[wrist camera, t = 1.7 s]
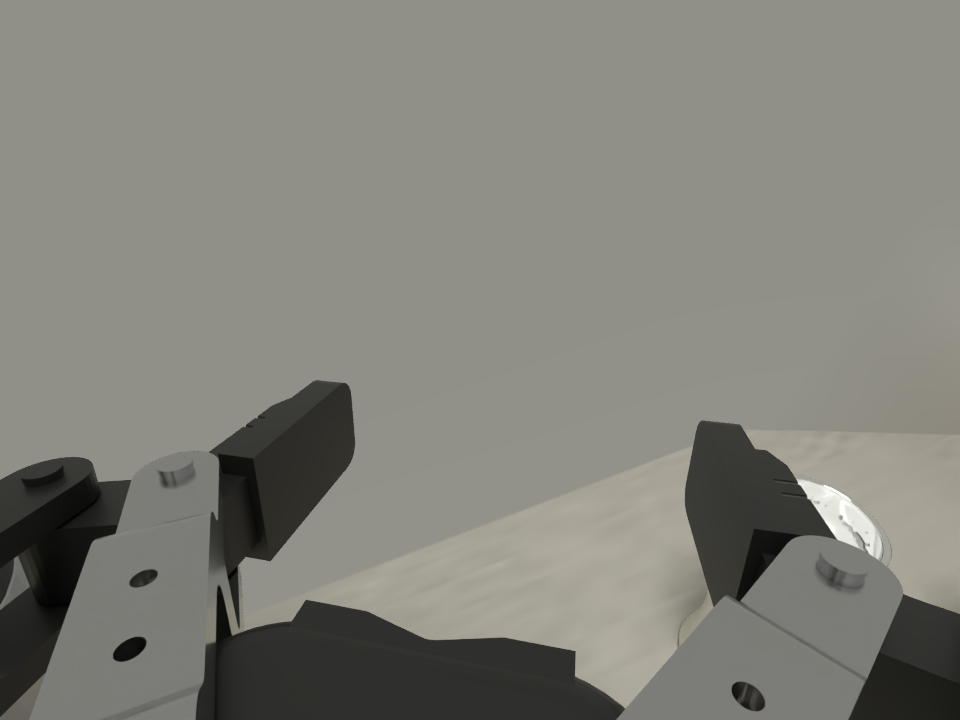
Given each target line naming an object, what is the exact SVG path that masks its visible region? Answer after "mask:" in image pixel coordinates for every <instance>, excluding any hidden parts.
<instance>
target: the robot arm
mask: <svg viewBox="0 0 960 720" xmlns="http://www.w3.org/2000/svg"><path fill="white" fill-rule="evenodd" d="M354 448H355V436H354V423H353V411H352V400H351V391H350V388H349V386H348V385H347V384H346V383H338V382H328V381H319V380H316V381H314V382H312V383H311V384H309V385H308V386H307V387H305V388H304V389H303V390H301V391H300V392H299V393H297V394H296V395H295V396H293V397H292V398H290V399H287V400H285V401H282V402H280V403H277V404H275V405H273V406H271V407H270V408H268V409H267V410H266V411H264V412H263V413H262V414H260V415H259V416H258V419H257V418H255V419H253V420H252V421H251V422H249V423H248V424H247V425H246V427H243V428H241V429H240V430H239V431H237V432H236V433H235V434H233V435H232V436H231V437H229V438H227V439H226V440H225V441H223V442H222V443H221V444H219V445H218V446H217V447H215V448H214V449H212V450H211V451H210V452H203V451H188V452H180V453H176V454H171V455H168V456H165V457H162V458H159V459H157V460H155V461H152V462H151V463H149V464H147V465H145V466H144V467H142V468H141V469H140V470H139V471H137V472H136V473H135V475H134V476H133V478H132V480H123V481H108V482H98V480H97V477H96V473H95V470H94V467H93V464H92V462H91V461H89V460H88V459H85V458H79V457H66V458H58V459H52V460H48V461H44V462H40V463H37V464H34V465H31V466H28V467H25V468H23V469H21V470H18V471H16V472H14V473H12V474H10V475H9V476H7V477H5V478H3V479H1V480H0V720H960V614H958V613H955V612H952V611H949V610H946V609H943V608H940V607H937V606H934V605H931V604H928V603H925V602H922V601H920V600H917V599H914V598H912V597H909V596H907V595H904V594H903V590H902V586H901V584H900V582H899V580H898V579H897V577H896V576H895V575H894V574H893V573H892V571H891V570H890V569H889V568H888V567H886V566H885V565H884V564H883V563H882V562H880V561H879V560H878V559H876V558H875V557H873V556H872V555H870V554H868V553H867V552H865V551H863V550H861V549H859V548H857V547H855V546H852V545H850V544H848V543H845V542H842V541H839V540H837V538H836V537H835V536H834V534H833V533H832V531H831V530H830V528H829V527H828V525H827V524H826V522H825V521H824V519H823V518H822V516H821V515H820V513H819V512H818V511H817V509H816V508H815V506H814V505H813V503H812V502H811V500H810V499H807V494H806V493H805V491H804V490H803V488H802V487H801V485H798V481H797V480H796V478H795V477H794V475H793V474H792V472H791V471H790V469H789V468H788V466H787V465H786V464H784V463H783V462H781V461H780V460H779V459H777V458H776V457H775V456H773V455H772V454H771V453H769V452H768V451H767V450H758V449H755V448H754V447H753V445H752V443H751V442H750V440H749V438H748V437H747V435H746V433H745V432H744V430H743V428H742V427H741V425H739V424H730V423H720V422H711V421H700V423H699V424H698V427H697V430H696V435H695V441H694V445H693V450H692V456H691V461H690V466H689V471H688V476H687V481H686V488H685V507H686V513H687V517H688V520H689V524H690V527H691V531H692V534H693V538H694V541H695V545H696V548H697V552H698V555H699V558H700V562H701V565H702V569H703V572H704V576H705V579H706V583H707V586H708V590H709V593H710V597H711V600H712V604H713V607H714V608H713V609H712V610H711V611H710V612H709V614H708V615H707V616H706V617H705V618H704V619H703V620H702V622H701V623H700V624H699V625H698V626H697V627H696V629H695V630H694V631H693V632H692V633H691V634H690V635H689V637H688V638H687V639H686V640H685V641H684V642H683V643H682V645H681V646H680V647H679V648H678V649H677V650H676V652H675V653H674V654H673V655H672V656H671V657H670V658H669V660H668V661H667V662H666V663H665V664H664V665H663V666H662V668H661V669H660V670H659V671H658V672H657V673H656V675H655V676H654V677H653V678H652V679H651V680H650V681H649V683H648V684H647V685H646V686H645V687H644V688H643V689H642V691H641V692H640V693H639V694H638V695H637V696H636V698H635V699H634V700H633V701H632V702H631V703H630V704H629V706H628V707H627V708H626V709H625V708H624V707H623V706H622V705H620V704H619V703H618V702H616V701H615V700H614V699H612V698H611V697H610V696H608V695H607V694H606V693H604V692H602V691H601V690H599V689H597V688H596V687H594V686H592V685H591V684H589V683H587V682H585V681H583V680H581V679H579V678H577V677H575V651H571V650H566V649H561V648H556V647H550V646H545V645H540V644H535V643H529V642H524V641H519V640H514V639H508V638H483V639H458V640H428V639H424V638H422V637H420V636H417V635H415V634H413V633H411V632H409V631H407V630H405V629H403V628H401V627H399V626H396V625H394V624H392V623H390V622H388V621H386V620H384V619H382V618H380V617H378V616H376V615H373V614H371V613H369V612H367V611H362V610H356V609H351V608H346V607H341V606H336V605H330V604H325V603H320V602H315V601H309V600H306V601H305V602H304V604H303V605H302V607H301V608H300V610H299V611H298V613H297V614H296V616H295V617H294V619H293V620H292V622H282V623H275V624H268V625H264V626H260V627H256V628H252V629H249V630H247V631H244V625H243V602H242V578H241V572H240V567H239V564H240V562H241V561H242V560H243V559H244V558H245V557H250V558H256V559H261V560H267V561H271V560H272V559H273V557H274V556H275V555H276V554H277V552H278V551H279V550H280V549H281V548H282V546H283V545H284V544H285V543H286V542H287V540H288V539H289V538H290V537H291V535H292V534H293V533H294V532H295V531H296V529H297V528H298V527H299V526H300V525H301V523H302V522H303V521H304V520H305V518H306V517H307V516H308V515H309V514H310V512H311V511H312V510H313V509H314V507H315V506H316V505H317V504H318V503H319V501H320V500H321V499H322V497H324V495H325V494H326V493H327V492H328V490H329V489H330V488H331V487H332V485H333V484H334V483H335V482H336V481H337V480H338V478H339V477H340V476H341V475H342V473H343V472H344V471H345V470H346V469H347V467H348V466H349V464H350V462H351V460H352V457H353V454H354Z"/></svg>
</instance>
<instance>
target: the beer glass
mask: <svg viewBox="0 0 960 720" xmlns="http://www.w3.org/2000/svg"><path fill="white" fill-rule="evenodd" d="M793 475H794V477H795V478H796V480H797V481H798V485H801V487H802V488H803V490H804V491H805V493H806V494H807V499H810V500H811V502H812V503H813V505H814V506H815V508H816V509H817V511H818V512H819V513H820V515H821V516H822V518H823V519H824V521H825V522H826V524H827V525H828V527H829V528H830V530H831V531H832V533H833V534H834V536H835V537H836V538H837V540H839V541H842V542H845V543H848V544H850V545H852V546H855V547H857V548H859V549H861V550H863V551H865V552H867V553H868V554H870V555H872V556H873V557H875V558H876V559H878V560H879V561H880V562H882V563H883V564H884V565H885V566H886V567H887V566H888V565H889V563H890V561H891V557H892V549H891V544H890V541H889V539H888V536H887V534H886V533H885V531H884V529H883V528H882V526H881V525H880V524H879V522H878V521H877V520H876V519H875V518H874V517H873V515H872V514H871V513H870V512H869V511H867V510H866V509H865V508H864V507H863V506H862V505H861V504H859V503H858V502H857V501H855V500H854V499H853V498H851V497H850V496H848V495H847V494H845V493H844V492H842V491H840V490H838V489H837V488H835V487H833V486H831V485H829V484H826V483H824V482H821V481H819V480H816V479H813V478H810V477H806V476H802V475H796V474H793ZM713 608H714V607H713V604H712V600H711V597H710V593H709V590H708V589H707V593H706V597H705V599H704V601H703V603H702V604H701V605H700V607H699V608H697V609H696V610H695V611H694V612H693V613H691V614H690V615H689V616H688V617H687V618H686V619H685V620H684V622H683V623H682V625H681V627H680V631H679V636H678V643H679V647H680V646H681V645H682V643H683V642H684V641H685V640H686V639H687V638H688V637H689V635H690V634H691V633H692V632H693V631H694V630H695V629H696V627H697V626H698V625H699V624H700V623H701V622H702V620H703V619H704V618H705V617H706V616H707V615H708V614H709V612H710V611H711V610H712V609H713Z"/></svg>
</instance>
